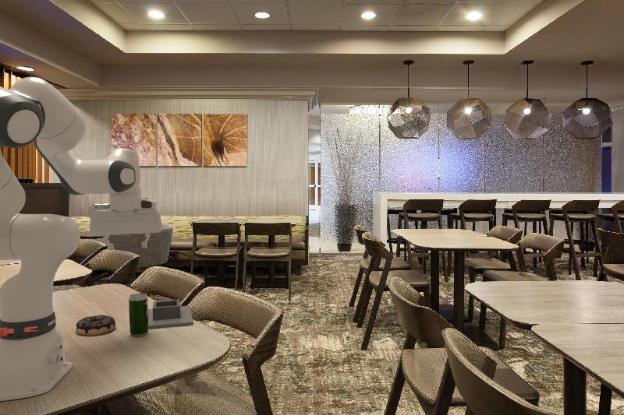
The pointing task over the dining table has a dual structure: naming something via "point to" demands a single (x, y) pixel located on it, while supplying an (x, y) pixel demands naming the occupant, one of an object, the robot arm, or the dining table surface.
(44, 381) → the robot arm
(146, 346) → the dining table surface
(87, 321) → the donut
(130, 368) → the dining table surface
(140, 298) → the beer can
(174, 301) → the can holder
